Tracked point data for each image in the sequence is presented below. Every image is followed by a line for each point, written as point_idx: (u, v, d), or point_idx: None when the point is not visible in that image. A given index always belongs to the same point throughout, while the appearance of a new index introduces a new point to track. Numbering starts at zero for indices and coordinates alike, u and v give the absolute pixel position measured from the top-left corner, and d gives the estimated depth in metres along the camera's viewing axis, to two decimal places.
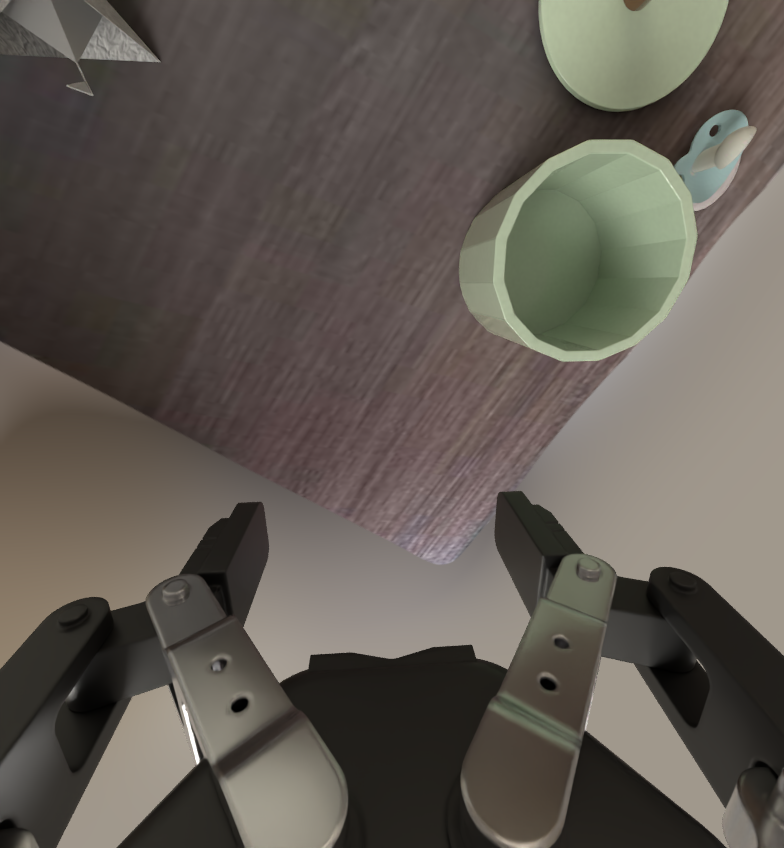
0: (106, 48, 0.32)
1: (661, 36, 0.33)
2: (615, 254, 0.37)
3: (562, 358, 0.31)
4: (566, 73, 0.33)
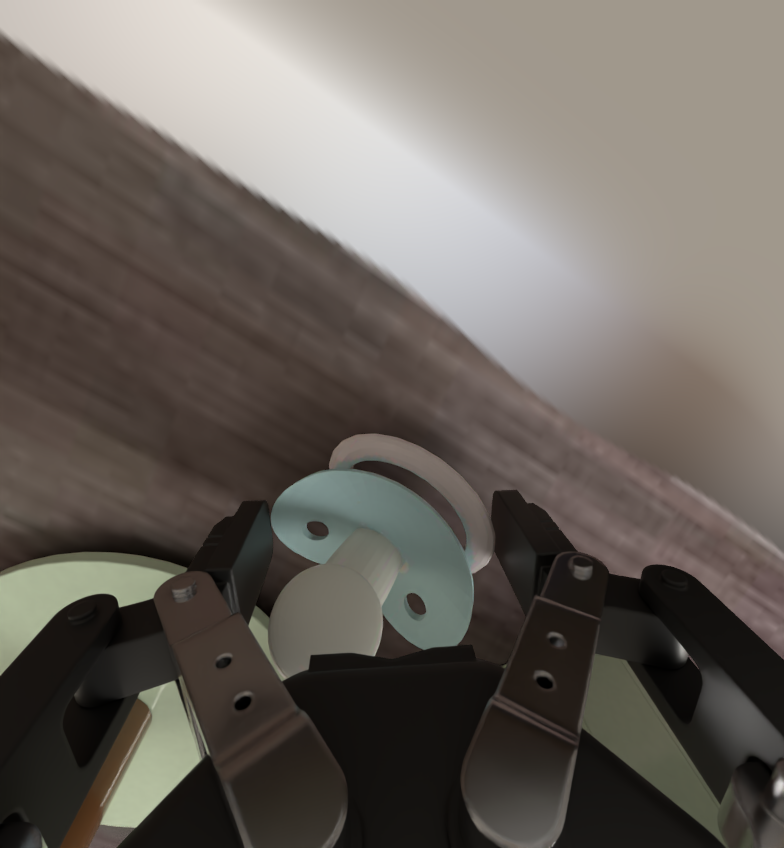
0: None
1: None
2: None
3: None
4: None
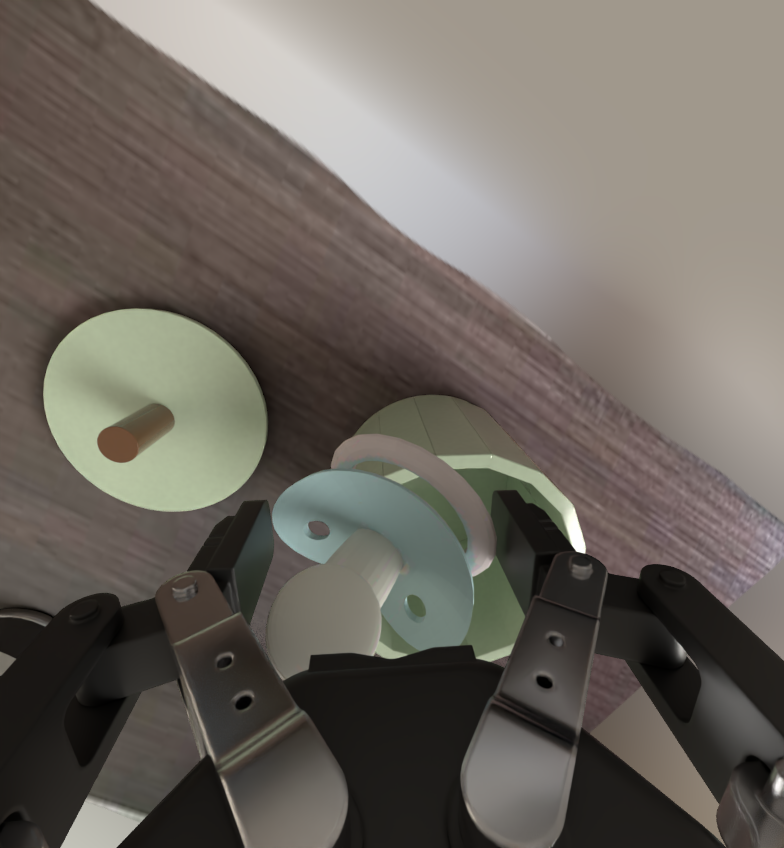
0: None
1: (190, 384, 0.29)
2: None
3: None
4: (240, 479, 0.31)
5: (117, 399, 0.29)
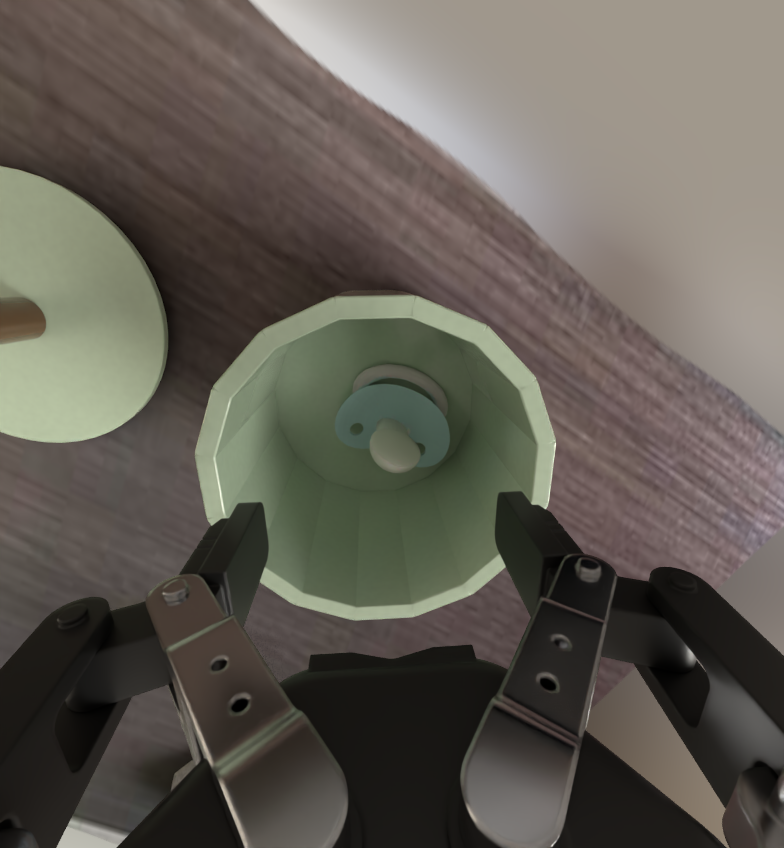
0: None
1: (61, 270, 0.23)
2: None
3: (543, 505, 0.17)
4: (137, 400, 0.25)
5: None
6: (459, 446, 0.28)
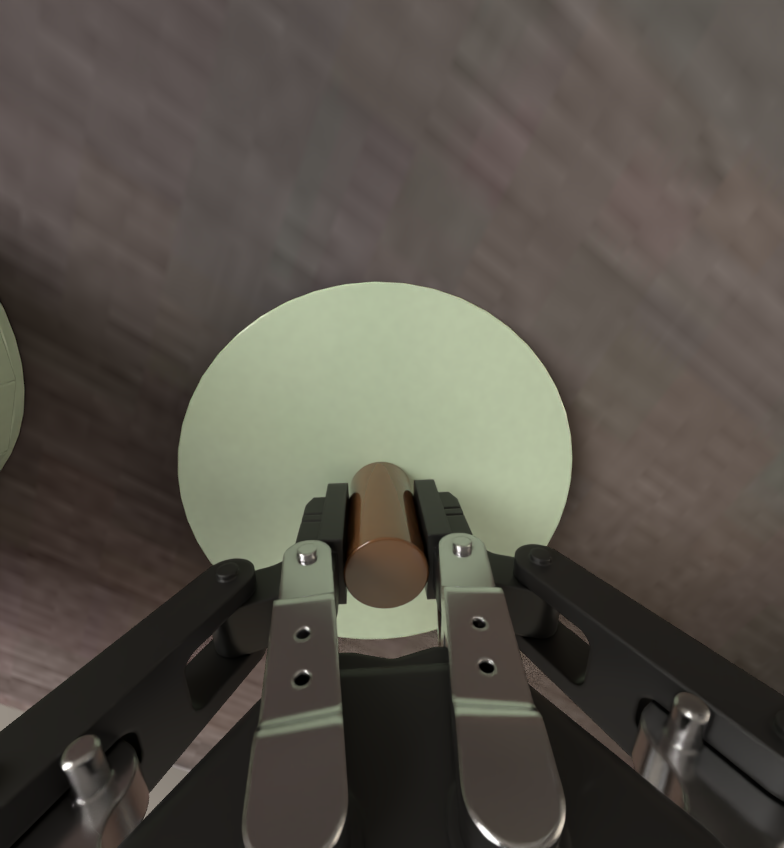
0: None
1: None
2: None
3: None
4: (225, 365, 0.14)
5: None
6: None
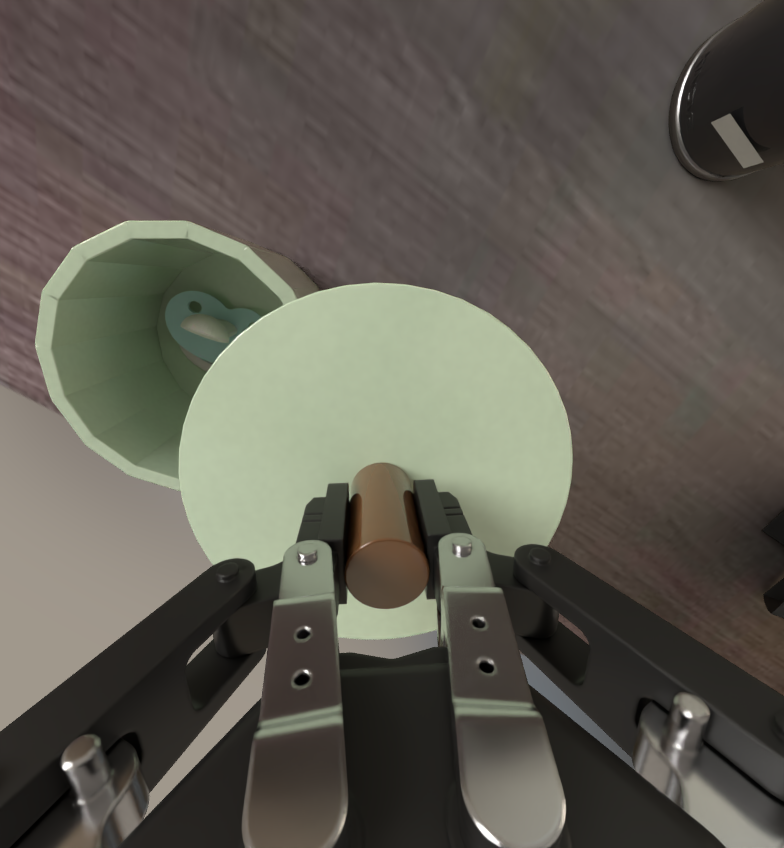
0: None
1: None
2: None
3: (39, 344, 0.21)
4: (226, 366, 0.14)
5: None
6: (159, 302, 0.30)
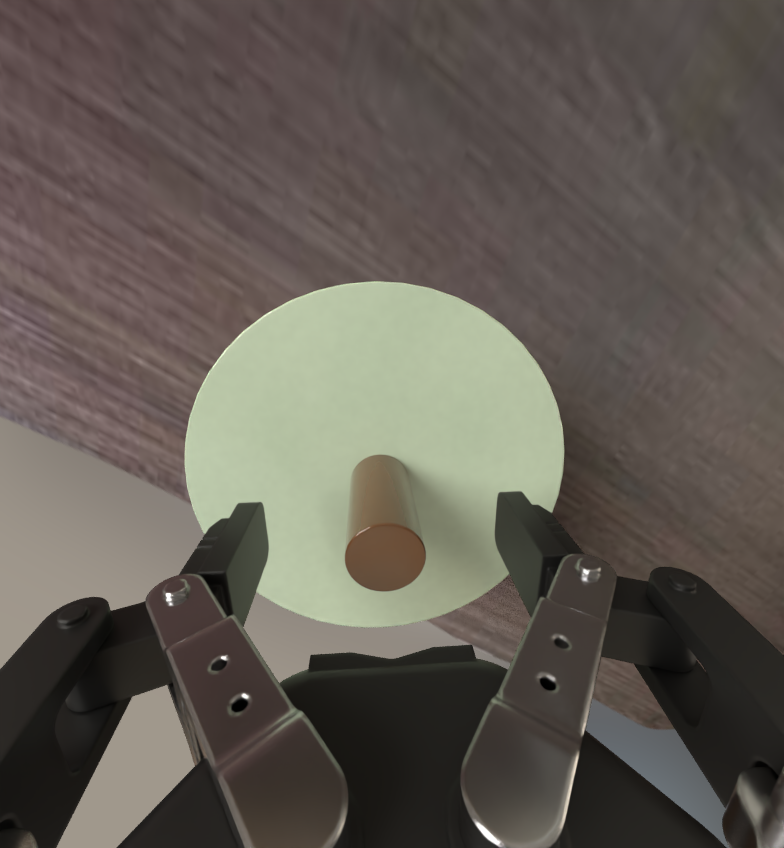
0: None
1: (317, 537, 0.17)
2: None
3: None
4: (231, 361, 0.15)
5: (439, 510, 0.17)
6: None
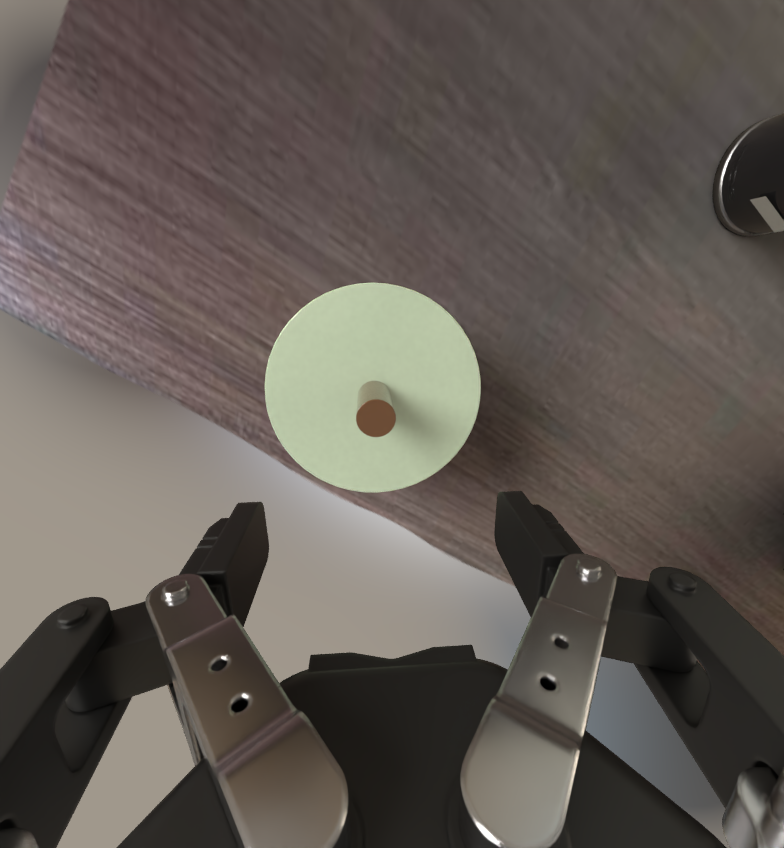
0: None
1: (338, 431, 0.30)
2: None
3: None
4: (293, 325, 0.27)
5: (409, 415, 0.30)
6: None
